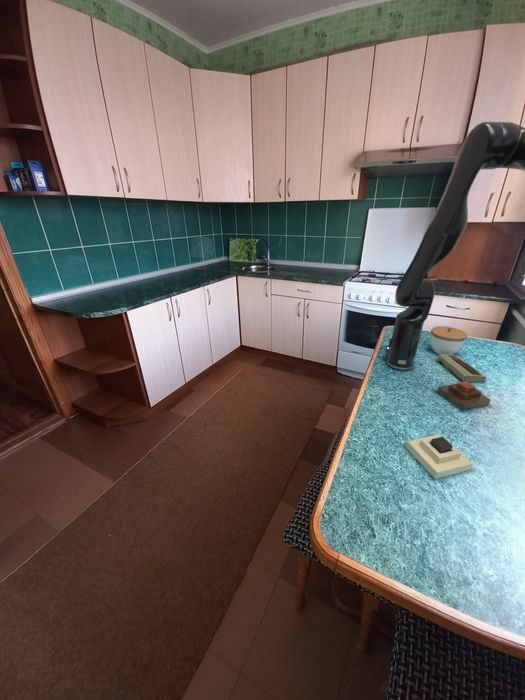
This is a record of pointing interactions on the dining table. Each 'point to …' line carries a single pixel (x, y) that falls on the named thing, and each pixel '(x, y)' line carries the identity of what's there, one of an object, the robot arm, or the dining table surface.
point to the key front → (441, 445)
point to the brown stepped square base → (463, 397)
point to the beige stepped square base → (438, 458)
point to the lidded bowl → (447, 340)
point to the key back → (466, 387)
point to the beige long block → (460, 368)
